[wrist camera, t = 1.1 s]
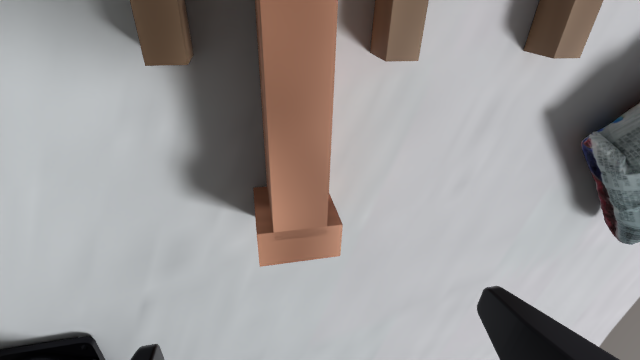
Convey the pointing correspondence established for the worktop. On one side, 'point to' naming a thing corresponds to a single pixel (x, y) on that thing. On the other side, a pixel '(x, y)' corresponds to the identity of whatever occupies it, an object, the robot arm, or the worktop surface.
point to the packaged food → (618, 173)
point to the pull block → (296, 130)
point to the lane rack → (374, 29)
